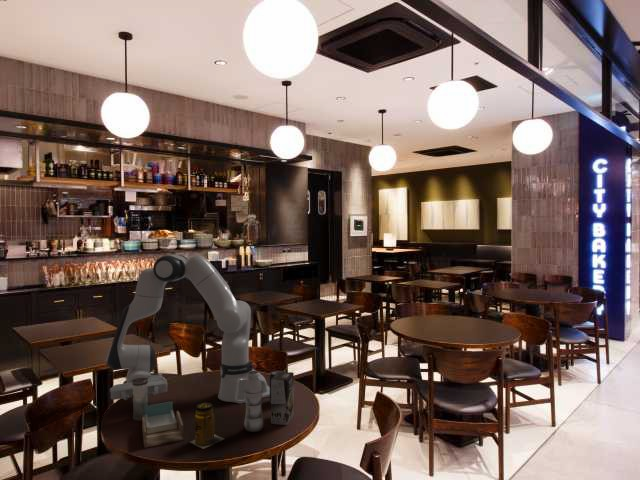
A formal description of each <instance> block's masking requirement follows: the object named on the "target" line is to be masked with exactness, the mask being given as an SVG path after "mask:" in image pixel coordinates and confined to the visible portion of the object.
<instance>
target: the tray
mask: <svg viewBox="0 0 640 480" xmlns="http://www.w3.org/2000/svg"><path fill="white" fill-rule="evenodd" d="M173 404H174V402H173V401H166V402H160V403H154V404H153V403H151V404H148V405H146V406H145V425H146V432H147V434H150V433H155V432H160V431H166V430H171V429H177V418H176V416H175V415H176V414H175V412H174V408H173V407H174V405H173Z"/></svg>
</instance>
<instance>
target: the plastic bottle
mask: <svg viewBox="0 0 640 480" xmlns="http://www.w3.org/2000/svg"><path fill="white" fill-rule="evenodd" d="M259 373H260V372H259V371H257V370H255V371H250V372H248V379H249V380H248V381H247V382H246V384H245V386H244V393H245V400H246V402H245V417H244V420H243V421H244V422H243V425H244V428H245V430H246V431H247V432H250V433H256V432H260V431H261V430H262V429H263V428H264V417H263V408H262V404H263V403H262V402H263V401H262V399H263V398H262V392H263V386H262V384H261V382H260V381H259V379H258V378H259Z"/></svg>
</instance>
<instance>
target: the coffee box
mask: <svg viewBox="0 0 640 480" xmlns="http://www.w3.org/2000/svg"><path fill="white" fill-rule="evenodd" d="M294 375H295V374H294V372H292V371H291V372H289V371H288V372H287V371H285V372H277V373H276V375H275V376H274V377H273V378H272V379H271V401H270V424H273V425H281V426H287V425H288V424H289V423H290V421H291V420H292V418H293V417H294V414H295V413H294V411H295V410H294V408H295V407H294V405H295V403H294V402H295V400H294V399H295V397H294V394H295V393H294V391H295V390H294V385H295V384H294V383H295V382H294Z"/></svg>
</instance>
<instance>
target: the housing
mask: <svg viewBox="0 0 640 480" xmlns="http://www.w3.org/2000/svg"><path fill="white" fill-rule="evenodd" d="M176 422H177V429H171V430H166V431H160V432H155V433H150V434H147V432H146V425H145V418H144V417H142V420H141V427H142V429H141V432H142V439H143V447H144V448H149V447H154V446H155V447H156V446H161V445H164V444H169V443H170V444H171V443H175V442H180V441H184V440H185V439H184V423H183V419H182V416H181V413H180V410H177V411H176ZM144 448H143V449H144Z"/></svg>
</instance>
